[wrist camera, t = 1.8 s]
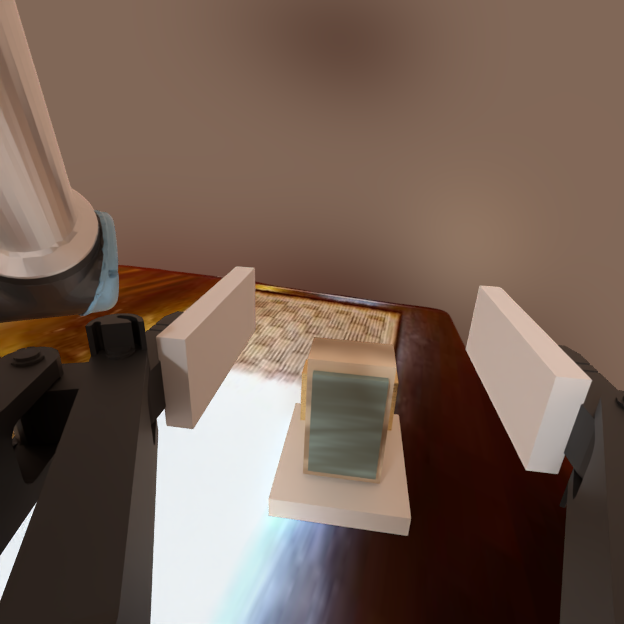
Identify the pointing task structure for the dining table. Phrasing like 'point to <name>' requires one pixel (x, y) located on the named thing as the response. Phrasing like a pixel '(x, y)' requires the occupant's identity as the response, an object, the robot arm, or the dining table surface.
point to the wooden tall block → (348, 408)
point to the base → (341, 488)
